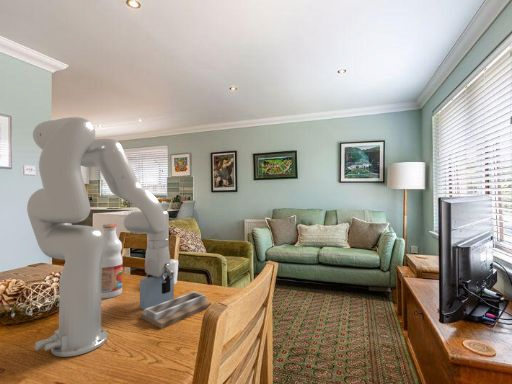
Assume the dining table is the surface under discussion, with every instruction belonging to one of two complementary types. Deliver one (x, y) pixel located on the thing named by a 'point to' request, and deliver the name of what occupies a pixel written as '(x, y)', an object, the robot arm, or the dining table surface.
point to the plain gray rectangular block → (154, 292)
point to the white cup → (174, 268)
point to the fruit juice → (111, 264)
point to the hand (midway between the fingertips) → (158, 289)
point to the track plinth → (175, 309)
